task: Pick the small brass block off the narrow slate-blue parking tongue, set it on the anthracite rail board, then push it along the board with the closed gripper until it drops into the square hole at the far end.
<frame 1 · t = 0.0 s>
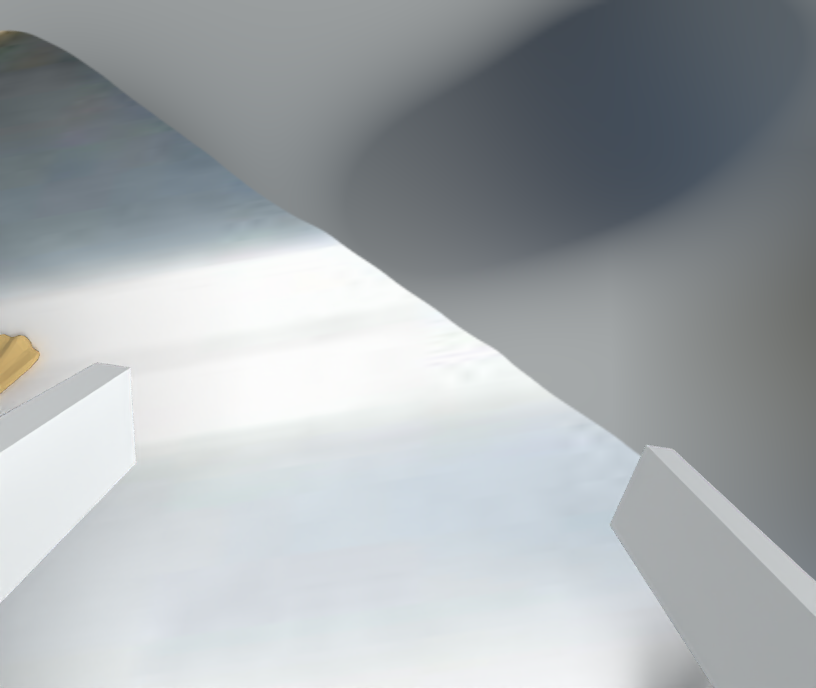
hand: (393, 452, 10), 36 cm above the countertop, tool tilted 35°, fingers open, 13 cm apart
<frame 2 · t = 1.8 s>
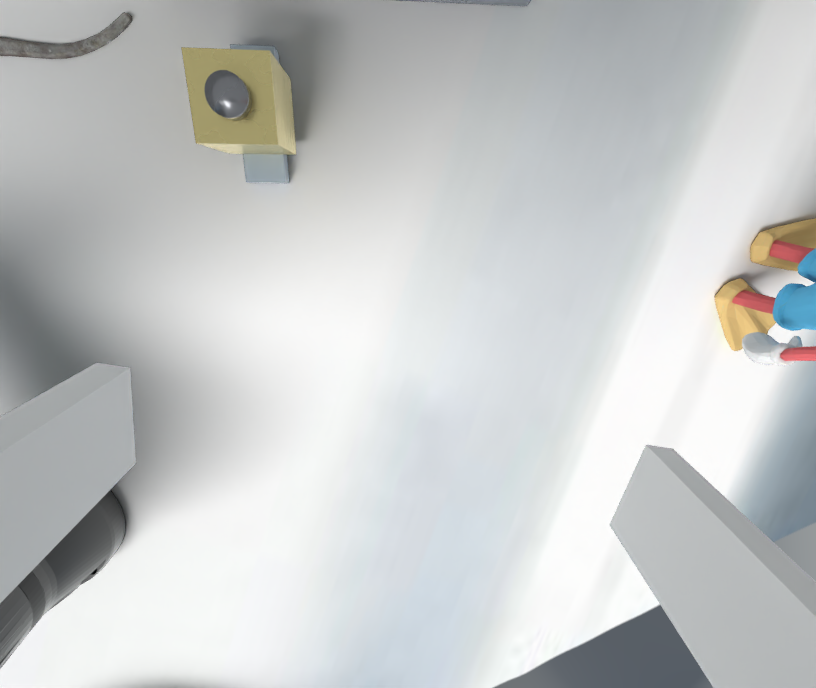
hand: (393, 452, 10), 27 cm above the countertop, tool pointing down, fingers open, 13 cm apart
pliers: (3, 39, 29), on the countertop
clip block: (259, 117, 30), point 1 cm above the countertop, touching parking tongue
toy: (748, 272, 39), on the countertop
parking tongue: (264, 120, 31), on the countertop
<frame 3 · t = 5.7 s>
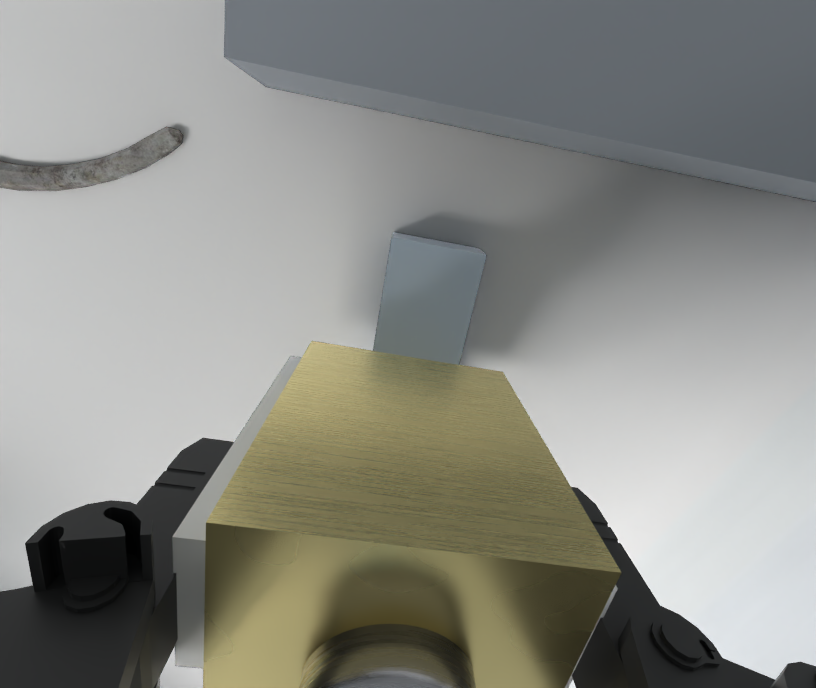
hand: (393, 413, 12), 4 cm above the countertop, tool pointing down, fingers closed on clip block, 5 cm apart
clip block: (392, 438, 11), point 5 cm above the countertop, touching gripper
parking tongue: (412, 358, 15), on the countertop
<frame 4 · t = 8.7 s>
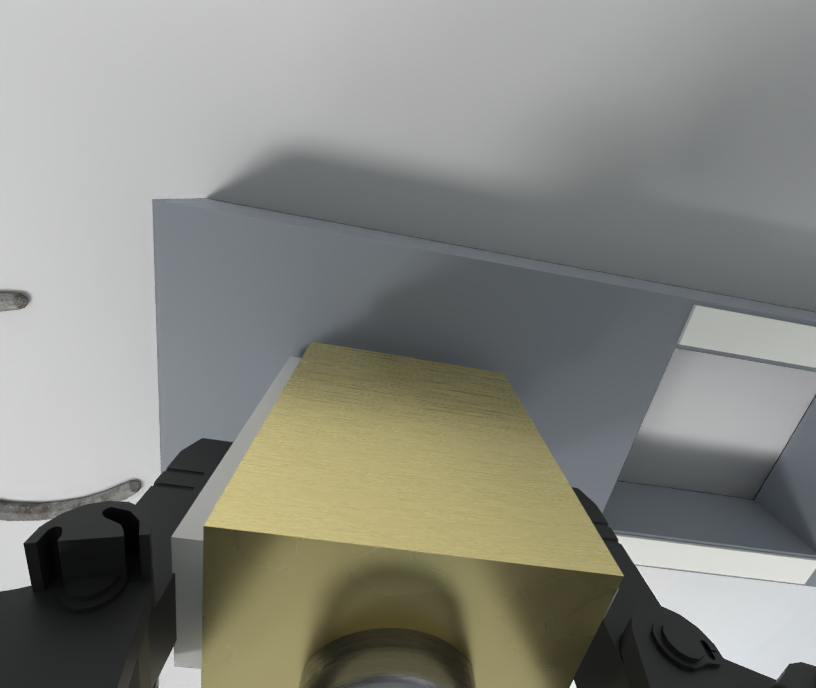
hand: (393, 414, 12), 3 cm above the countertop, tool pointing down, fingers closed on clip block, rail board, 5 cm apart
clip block: (392, 439, 11), point 4 cm above the countertop, touching gripper
rail board: (542, 394, 16), on the countertop
when the fingers open (3 cm above the countertop, at t = 9.1 s): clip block stays where it is, resting on rail board.
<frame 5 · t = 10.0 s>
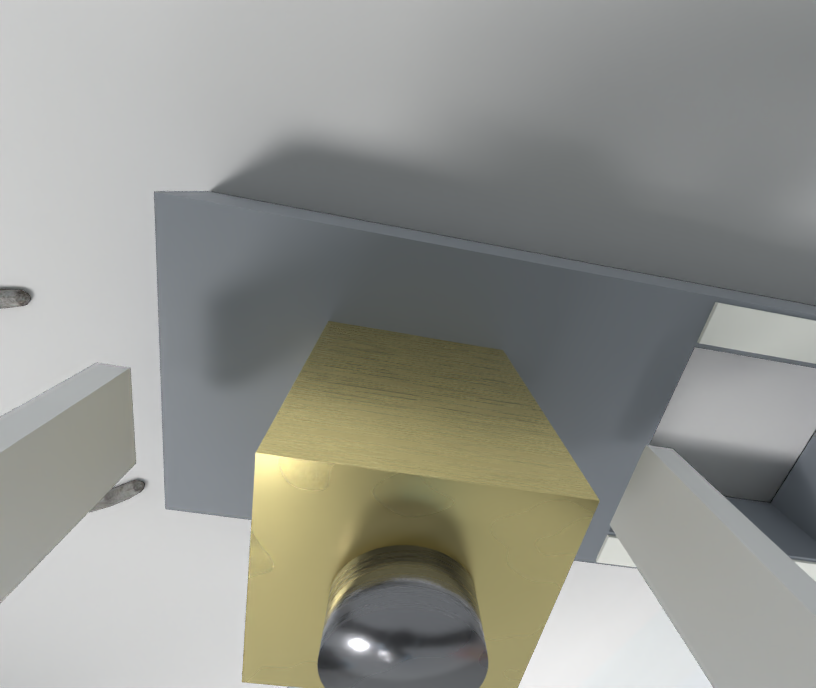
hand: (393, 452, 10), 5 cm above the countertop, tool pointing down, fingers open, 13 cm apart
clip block: (401, 412, 12), point 3 cm above the countertop, touching rail board
rail board: (554, 393, 15), on the countertop
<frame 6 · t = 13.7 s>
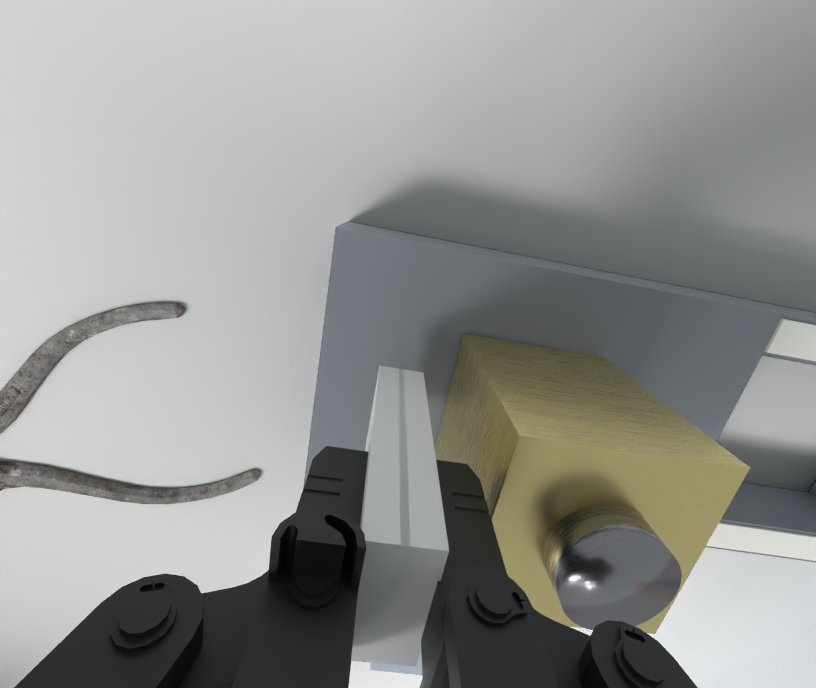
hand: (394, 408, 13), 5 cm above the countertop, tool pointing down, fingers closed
pliers: (60, 457, 19), on the countertop
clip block: (514, 409, 14), point 3 cm above the countertop, touching gripper, rail board
rail board: (625, 394, 18), on the countertop
parking tongue: (413, 587, 22), on the countertop
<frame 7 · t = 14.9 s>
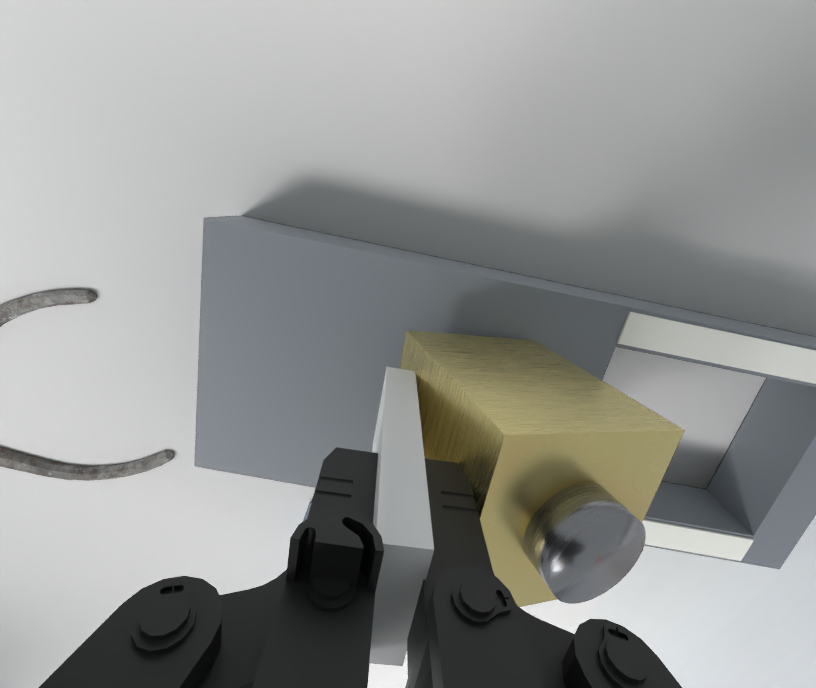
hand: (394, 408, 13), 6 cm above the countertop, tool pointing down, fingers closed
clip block: (458, 400, 15), point 4 cm above the countertop, tilted 19°, touching gripper, rail board
rail board: (515, 386, 19), on the countertop
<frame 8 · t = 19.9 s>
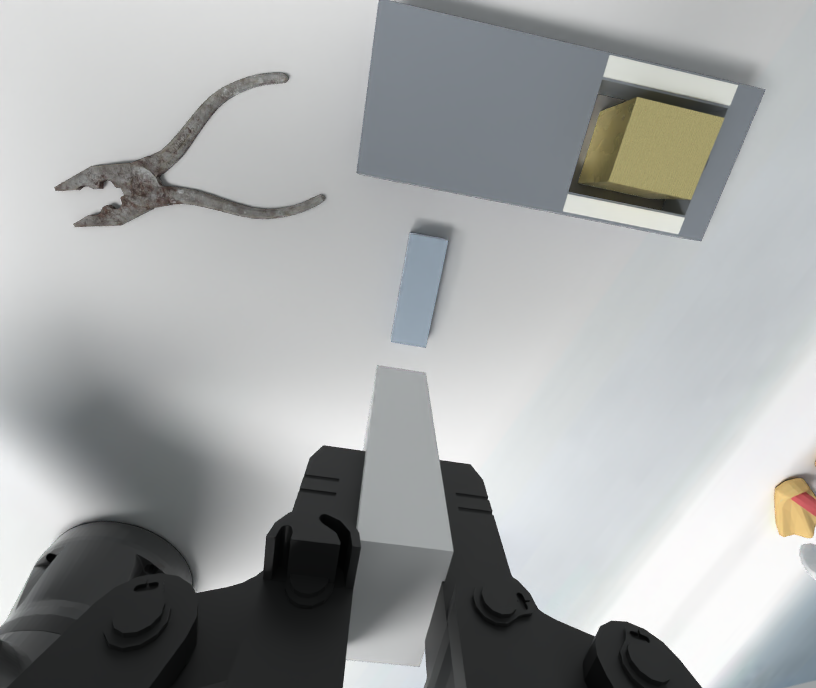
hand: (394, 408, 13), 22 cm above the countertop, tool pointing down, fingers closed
pliers: (203, 189, 32), on the countertop
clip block: (603, 144, 28), point 2 cm above the countertop, tilted 90°
toy: (809, 473, 42), on the countertop
rail board: (541, 137, 30), on the countertop
parking tongue: (417, 289, 34), on the countertop
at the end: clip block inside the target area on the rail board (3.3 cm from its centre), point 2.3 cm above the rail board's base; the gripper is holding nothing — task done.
